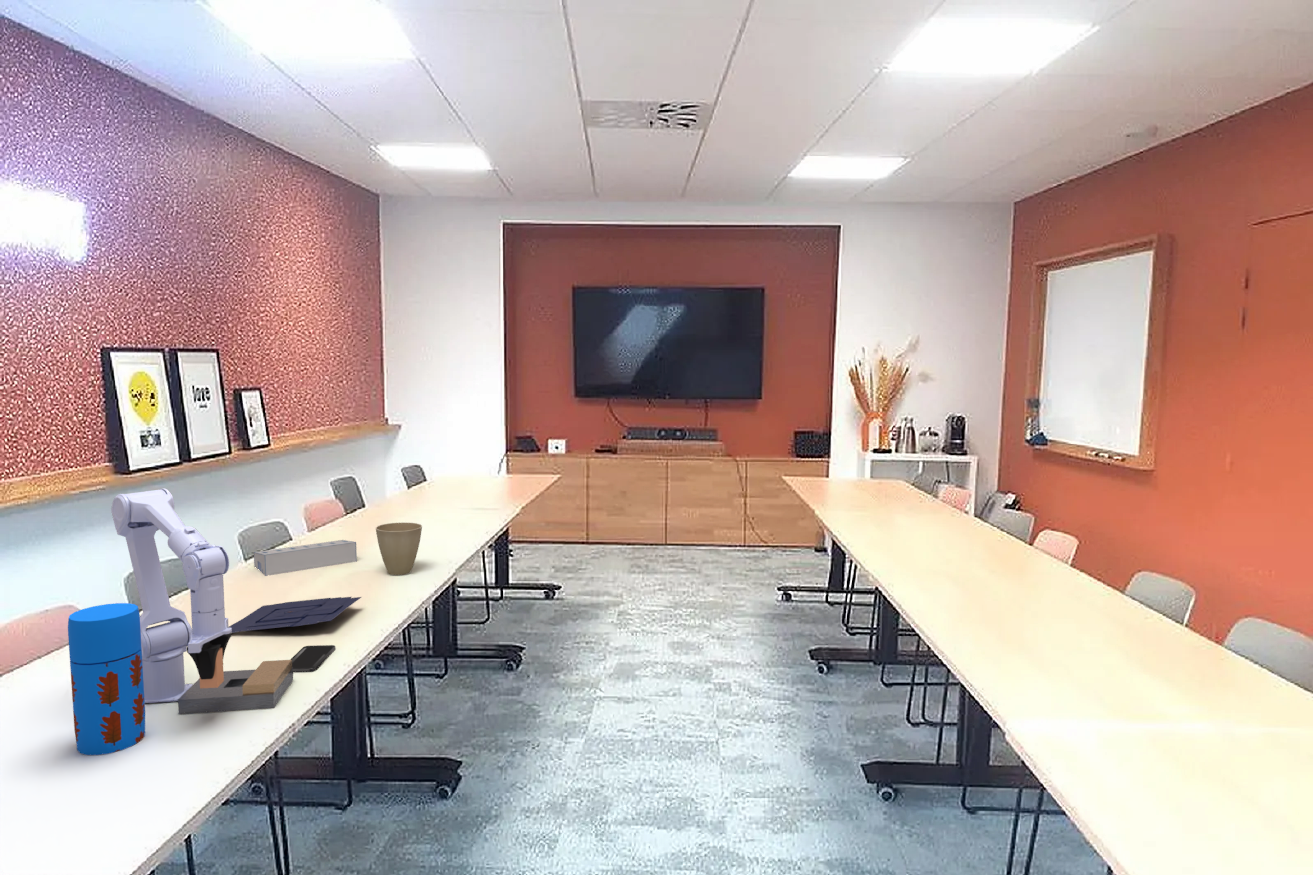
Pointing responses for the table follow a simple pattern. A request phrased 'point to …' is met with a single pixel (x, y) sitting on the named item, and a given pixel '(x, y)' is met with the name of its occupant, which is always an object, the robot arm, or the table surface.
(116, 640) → the thermos
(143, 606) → the robot arm
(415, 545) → the plant pot
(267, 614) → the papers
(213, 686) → the light brown rectangular block
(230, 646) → the table surface
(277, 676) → the bracket plate
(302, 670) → the phone
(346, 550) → the warehouse
